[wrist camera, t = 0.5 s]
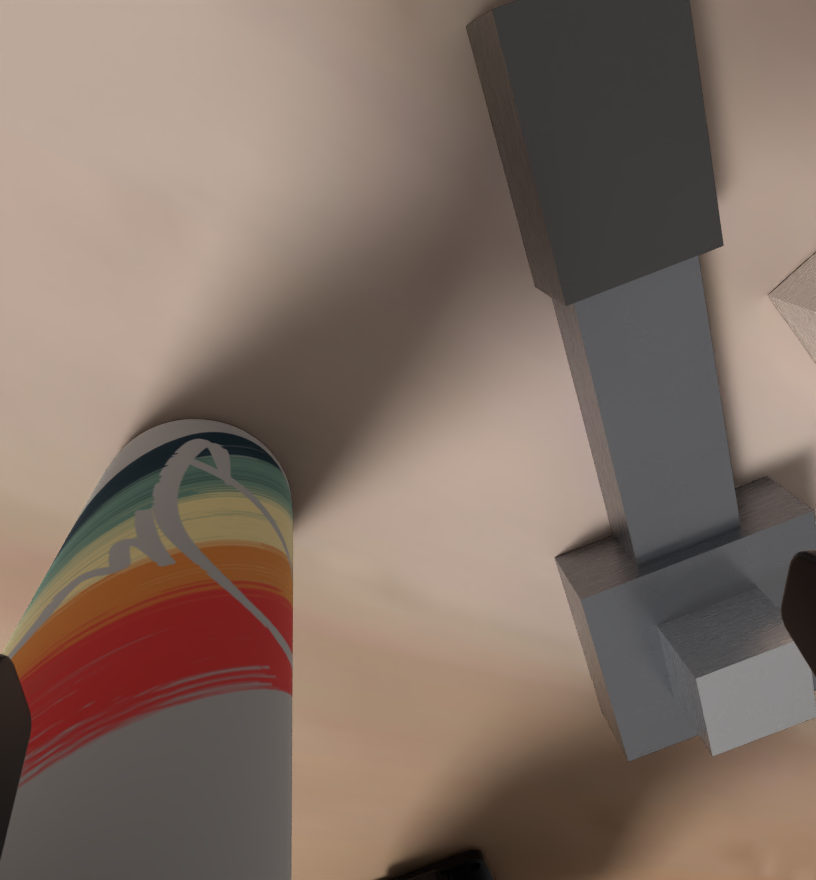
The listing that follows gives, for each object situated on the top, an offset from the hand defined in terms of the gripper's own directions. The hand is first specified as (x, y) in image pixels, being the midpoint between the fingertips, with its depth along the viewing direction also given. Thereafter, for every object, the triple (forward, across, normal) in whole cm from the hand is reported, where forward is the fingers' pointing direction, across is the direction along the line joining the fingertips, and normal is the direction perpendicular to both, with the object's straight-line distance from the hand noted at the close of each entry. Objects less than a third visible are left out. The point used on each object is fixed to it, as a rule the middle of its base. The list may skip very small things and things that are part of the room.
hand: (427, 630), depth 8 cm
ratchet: (+14, -9, +3) cm, 17 cm away
